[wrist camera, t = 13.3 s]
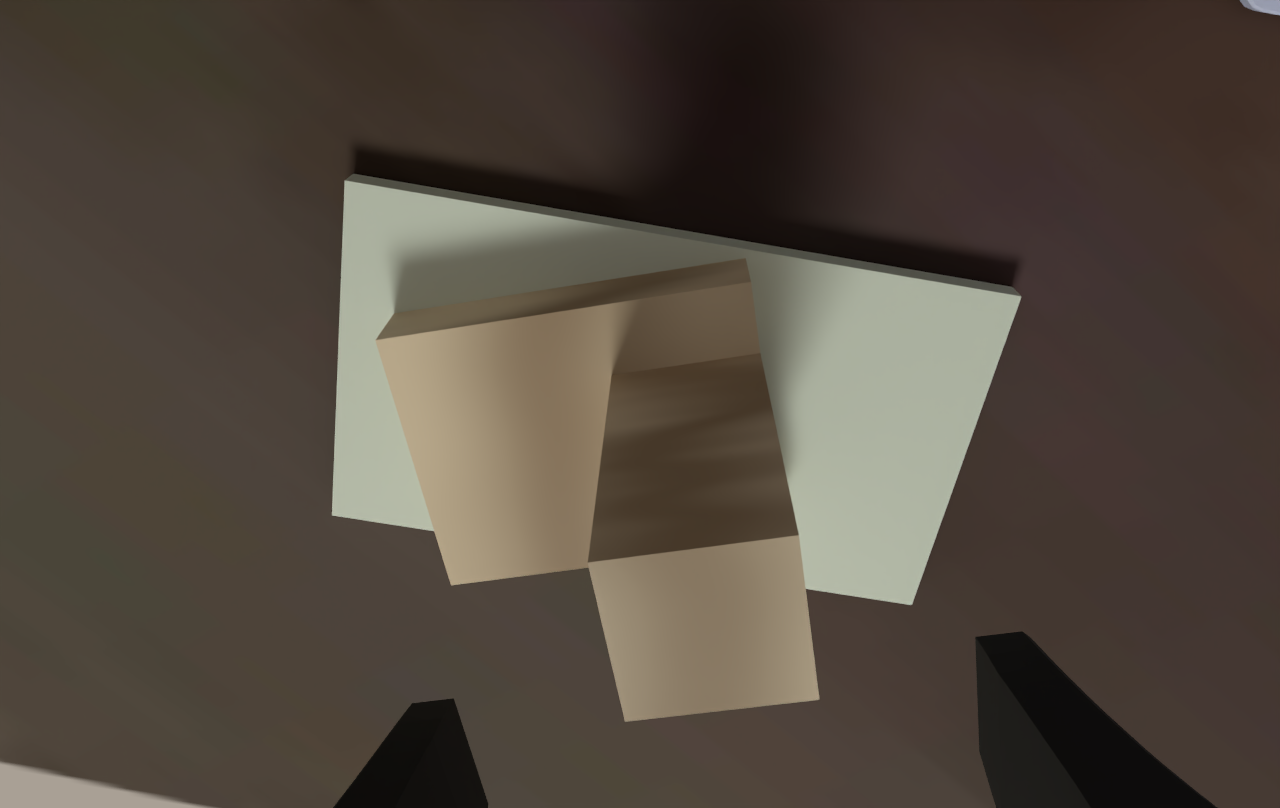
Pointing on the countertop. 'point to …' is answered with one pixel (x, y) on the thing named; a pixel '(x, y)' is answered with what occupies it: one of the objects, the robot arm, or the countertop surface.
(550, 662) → the countertop surface
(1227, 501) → the countertop surface
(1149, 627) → the countertop surface
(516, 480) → the wooden post on base
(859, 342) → the board
